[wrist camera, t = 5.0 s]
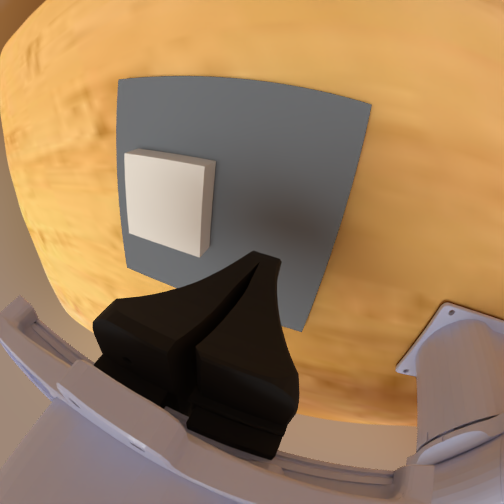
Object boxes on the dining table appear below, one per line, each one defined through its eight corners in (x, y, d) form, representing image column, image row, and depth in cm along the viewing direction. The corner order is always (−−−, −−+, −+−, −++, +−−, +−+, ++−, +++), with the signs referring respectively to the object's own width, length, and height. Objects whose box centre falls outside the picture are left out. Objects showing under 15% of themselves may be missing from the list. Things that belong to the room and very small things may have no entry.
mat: (370, 104, 12) (371, 104, 11) (303, 324, 21) (301, 332, 20) (126, 79, 15) (118, 79, 14) (132, 262, 24) (127, 267, 23)
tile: (204, 166, 14) (124, 153, 16) (199, 257, 18) (129, 233, 19) (216, 160, 15) (138, 148, 17) (209, 246, 19) (141, 224, 20)
